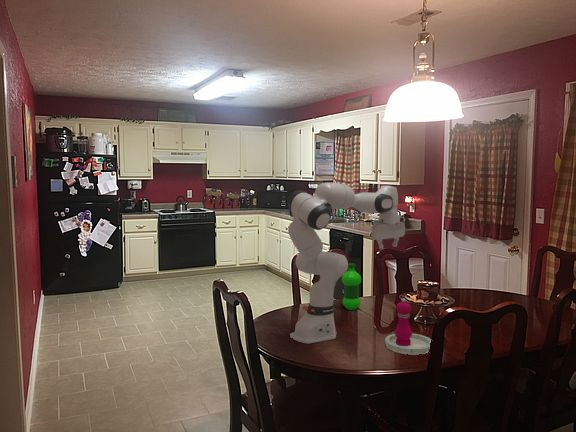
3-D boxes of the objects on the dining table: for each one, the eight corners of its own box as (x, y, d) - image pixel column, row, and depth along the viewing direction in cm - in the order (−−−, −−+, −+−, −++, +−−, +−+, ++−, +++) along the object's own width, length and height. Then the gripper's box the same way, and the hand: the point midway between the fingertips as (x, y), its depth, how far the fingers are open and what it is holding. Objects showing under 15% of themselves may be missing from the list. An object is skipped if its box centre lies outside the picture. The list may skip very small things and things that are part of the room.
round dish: (412, 358, 197) (412, 352, 197) (375, 344, 213) (375, 339, 213) (442, 347, 209) (442, 342, 209) (405, 335, 225) (405, 330, 225)
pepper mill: (402, 347, 207) (402, 301, 205) (391, 342, 213) (391, 297, 211) (415, 344, 210) (416, 299, 208) (404, 339, 216) (404, 295, 215)
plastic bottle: (349, 305, 276) (349, 261, 274) (364, 308, 269) (364, 264, 267) (338, 308, 269) (338, 264, 267) (353, 312, 262) (353, 266, 259)
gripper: (378, 221, 224) (378, 250, 225) (407, 218, 236) (407, 246, 238) (368, 220, 229) (368, 249, 230) (397, 217, 241) (397, 244, 243)
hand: (388, 247), depth 234 cm, fingers open, 8 cm apart
